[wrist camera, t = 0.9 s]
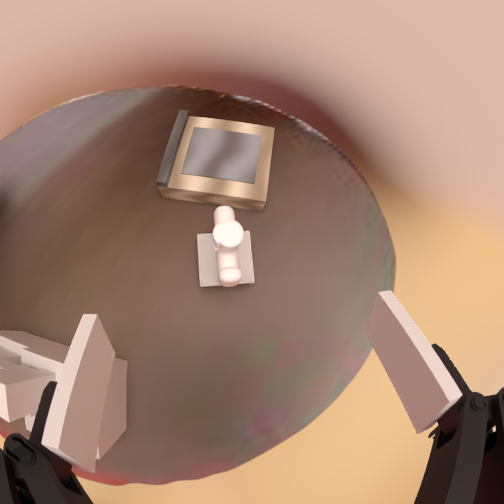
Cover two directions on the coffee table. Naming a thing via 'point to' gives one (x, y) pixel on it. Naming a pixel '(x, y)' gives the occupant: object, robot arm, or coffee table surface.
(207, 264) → the figurine
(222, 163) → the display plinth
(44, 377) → the building blocks
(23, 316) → the coffee table surface
